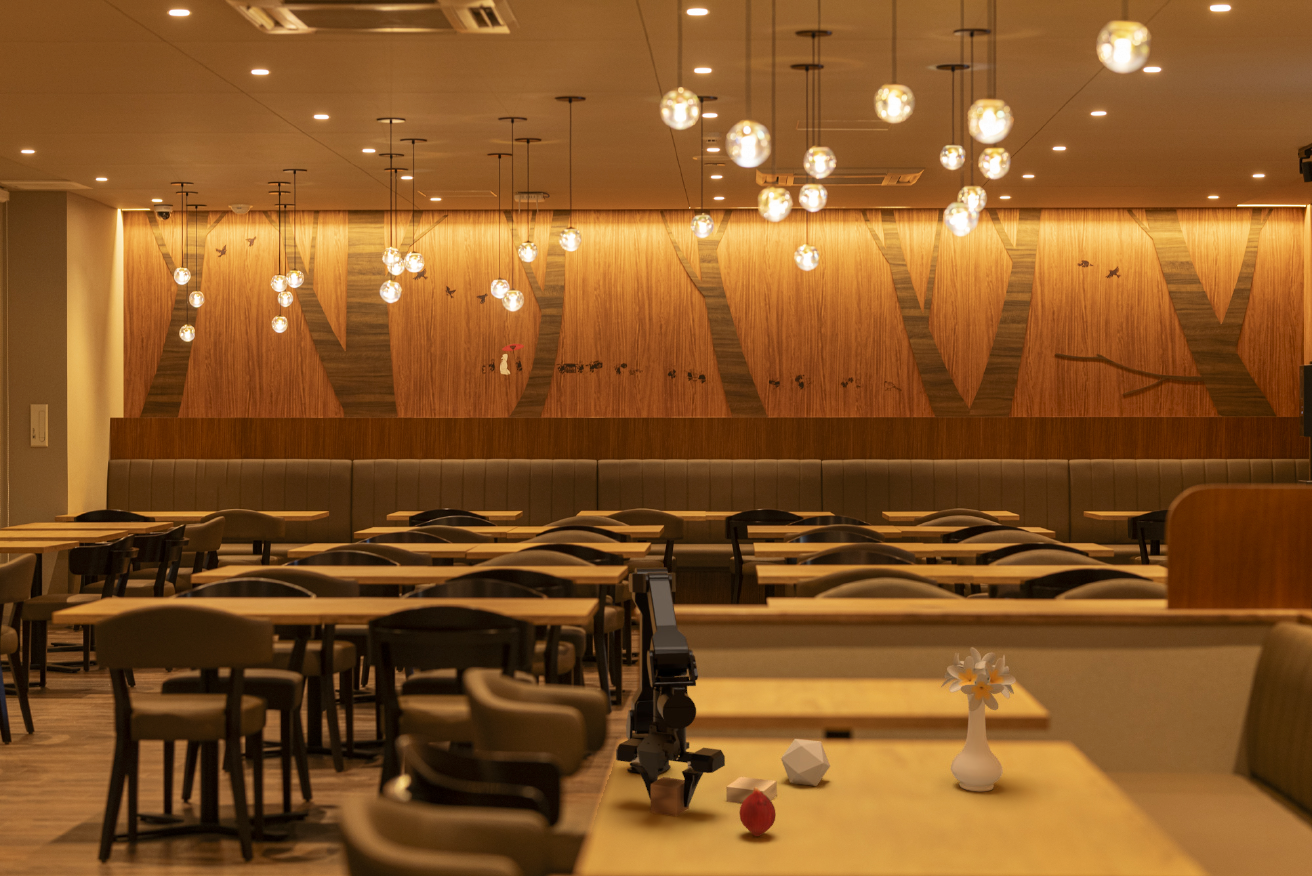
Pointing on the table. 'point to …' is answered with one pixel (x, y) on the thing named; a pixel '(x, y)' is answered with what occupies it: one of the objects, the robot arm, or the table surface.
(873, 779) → the table surface
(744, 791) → the maple base
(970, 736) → the flower vase
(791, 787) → the table surface
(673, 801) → the walnut cube
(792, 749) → the die
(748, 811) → the onion
